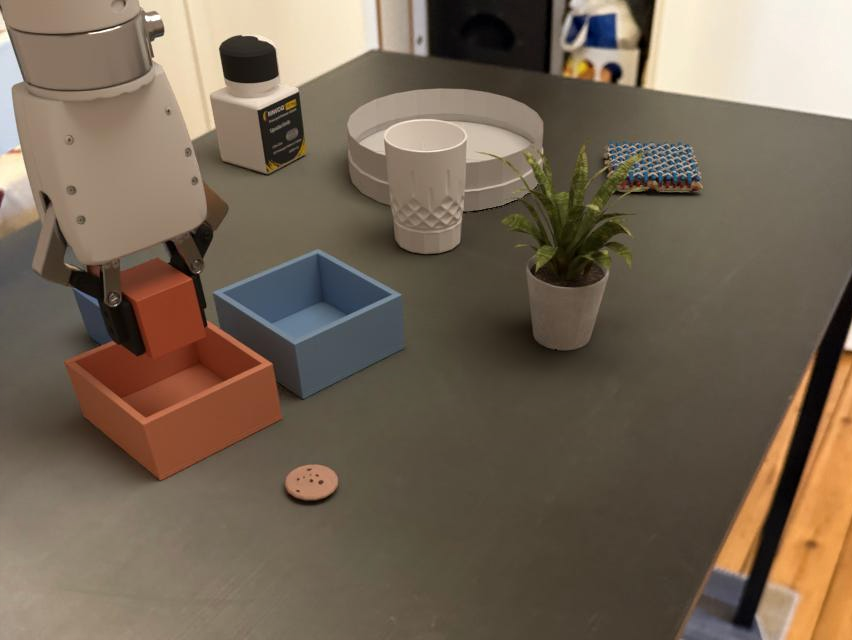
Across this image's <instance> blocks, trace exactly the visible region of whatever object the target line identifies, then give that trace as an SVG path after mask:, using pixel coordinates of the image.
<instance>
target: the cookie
mask: <svg viewBox="0 0 852 640" xmlns="http://www.w3.org/2000/svg"><path fill="white" fill-rule="evenodd" d="M338 486H339V477H338V476H337V473H336V472H335V471H334V470H333V469H331V468H330V467H328V466H325V465H321V464H306V465H301V466H298V467H297V468H294V469H293V470H291V471H290V472H289V473H288V474H287V476H286V477H285V481H284V487H285V489H286V491H287V493H288V494H290V495H291V497H294V498H296V499H299V500H303V501H318V500H322V499H325V498H327V497H328V496H330V495H331V494H333V493H334V492H335V491H336V489H337V488H338Z"/></svg>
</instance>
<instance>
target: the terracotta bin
mask: <svg viewBox="0 0 852 640" xmlns="http://www.w3.org/2000/svg"><path fill="white" fill-rule="evenodd" d="M206 320H207V319H206ZM207 324H208V326H207V327H205V328H204V329H205V334H206V337H205V338H202V339H200V340H198V341H196V342H193V343H191V344H189V345H187V346H184V347H182V348H180V349H177V350H175V351H173V352H171V353H168V354H166V355H164V356H161V357H159V358H157V359H155V360H153V359H151V358H150V357H148V356H147V355H146V354H143V355H140V356H138V357H137V356H136V355H134V354H133V353H132V352H130V351H129V350H128V349H126V348H125V347H123V346H122V345H121V344H120V345H118V344H116V343H115V342H114V341H111V342H109V343H107V344H104V345H102V346H101V345H100V346H97V347H95V348H92V349H90V350H87V351H85V352H82V353H80V354H78V355H76V356H73V357H71V358H67V359H66V360H64V361H63V364H64V366H65V368H66V372H67V374H68V377H69V380H70V382H71V386H72V388H73V390H74V394H75V396H76V399H77V401H78V404H79V406H80V409H81V412H82V415H83V417H84V418H85V419H86V420H87V421H89V423H91V424H92V425H94V426H95V427H96V428H97V429H98V430H99V431H101V432H102V433H103V434H104V435H105V436H106V437H108V438H109V439H110V440H112V441H113V442H114V443H115V444H116V445H117V446H119V447H120V448H121V449H122V450H123V451H125V452H126V453H127V454H128V455H129V456H130V457H132V459H134V460H135V461H136V462H138V463H139V464H140V465H141V466H142V467H144V468H145V469H146V470H147V471H148V472H150V473H151V474H152V475H153V476H154V477H155V478H156V479H158V480H159V481H163V480H165V479H166V478H169V477H171V476H173V475H175V474H177V473H178V472H180V471H182V470H184V469H186V468H188V467H191V466H192V465H194V464H197V463H198V462H201V461H202V460H204V459H206V458H208V457H210V456H212V455H214V454H216V453H218V452H220V451H222V450H224V449H226V448H228V447H229V446H231V445H234V444H236V443H238V442H239V441H240V442H241V440H244V439H246V438H247V437H249V436H251V435H253V434H255V433H257V432H259V431H262V430H263V429H265V428H267V427H269V426H271V425H273V424H276V423H277V422H279V421H281V420H283V414H282V409H281V402H280V397H279V391H278V386H277V385H278V384H277V381H276V380H275V374H274V368H273V364H272V363H271V362H269V361H268V360H266V359H265V358H263V357H262V356H260V355H259V354H257V353H256V352H254V351H253V350H251V349H250V348H248V347H247V346H245V345H244V344H242V343H241V342H239V341H238V340H236V339H235V338H233V337H232V336H230V335H229V334H227V333H226V332H224V331H223V330H221V329H220V327H218V326H216V325H215V324H214V323H212V322H211V321H209V320H207Z"/></svg>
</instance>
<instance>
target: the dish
mask: <svg viewBox="0 0 852 640" xmlns="http://www.w3.org/2000/svg"><path fill="white" fill-rule="evenodd" d="M418 119H433V120H442V121H447V122H450V123H453V124H456V125H458V126H460V127H462V128H463V129H464V130H465V131H466V133H467V154H466V180H465V195H464V211H473V210H482V209H486V208H492V207H496V206H501V205H504V204H506V203H509V202H511V201H514V200H517V199H515V198H522V197H523V196H524V195H525V194H527V193H529V191H528V190H526V191H520V192H516V193H513V192H514V191H516V190H520V189H527V188H526V186H525V185H524V183H523V182H522V180H521V179H520V177H519V176H518V175H517V173H516V172H515V171H514V170H513V169H512V168H511V167H510V166H509V165H507V164H506V163H504V162H503V161H501V160H499V159H497V158H495V157H492V156H489V155H486V154H482V153H477V152H484V153H489V154H492V155H495V156H498V157H501V158H503V159H504V160H506V161H508V162H509V163H510V164H511V165H512V166H513V167H514V168H515V169H516V170H518V172H519V173H520V174H521V176H522V177H523V179H524V180H525V182H526V183H527V185H528V186H529V188H530V190H533V189H534V188H535V187H536V186H537V184H538V182H537V180H536V178H535V176H534V173H533V170H532V167H531V166H530V164H529V163H528V162H527V160H526V158H525V156H524V154H526V152H525V151H524V149H525V150H526V151H527V152H529V153H530V154H531V155H532V156H534V158H535V159H536V160H537V162H538V164H539V165H540V167H541V169H542V170H543V169H544V163H543V161H542V159H541V157H540V155H539V154H538V152H537V151H536V150H535V149H534V148H532V147H531V146H533V147H535V148H536V149H538V150H539V151H540V152H541V153H542V154H543V155H544V147H543V140H544V120H543V119H542V118H541V117H540V115H539V114H538V112H537V111H535V110H534V109H533V108H531V107H530V106H528V105H527V104H526V103H524V102H521V101H518V100H516V99H513V98H510V97H508V96H504V95H500V94H496V93H492V92H488V91H481V90H474V89H466V88H426V89H425V88H424V89H414V90H407V91H402V92H401V91H400V92H396V93H393V94H392V93H391V94H388V95H384V96H382V97H379V98H375V99H373V100H371V101H369V102H367V103H364V104H363V105H360V106H359V107H358V108H357V109H356V110H354V112H352V113H351V114H350V116H349V118H348V121H347V123H346V129H347V140H348V149H347V160H348V172H349V176H350V178H351V182H352V184H353V185H354V187H356V189H357V190H359V192H360V193H361V194H362V195H364V196H366V197H368V198H370V199H372V200H374V201H376V202H378V203H380V204H383V205H387V206H390V207H391V202H390V193H389V186H388V176H387V166H386V156H385V146H384V132H385V131H386V130H387V129H388V128H389V127H391V126H393V125H395V124H397V123H400V122H404V121H409V120H418ZM530 145H531V146H530ZM474 151H475V152H474ZM522 152H523V153H524V154H523V153H522ZM526 155H527V154H526ZM527 156H528V155H527ZM543 171H544V170H543ZM537 187H538V186H537ZM511 193H513V194H511ZM511 197H514V199H507V198H511ZM505 199H507V200H505ZM522 199H523V198H522Z"/></svg>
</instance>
